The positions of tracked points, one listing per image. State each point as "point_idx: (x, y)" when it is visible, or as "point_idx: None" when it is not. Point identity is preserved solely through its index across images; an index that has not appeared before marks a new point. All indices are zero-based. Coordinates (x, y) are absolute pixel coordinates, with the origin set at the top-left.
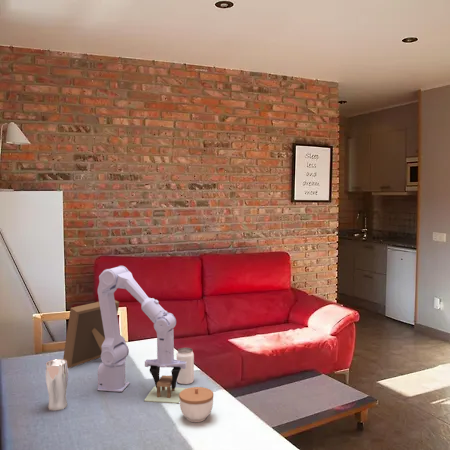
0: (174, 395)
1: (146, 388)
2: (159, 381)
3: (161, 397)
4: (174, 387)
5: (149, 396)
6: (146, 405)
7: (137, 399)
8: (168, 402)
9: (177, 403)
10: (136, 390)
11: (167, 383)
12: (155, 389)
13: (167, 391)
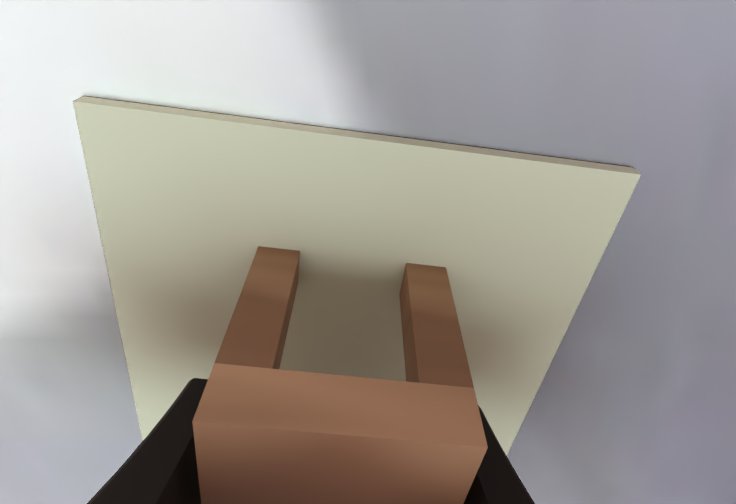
0: (217, 311)
1: (569, 458)
2: (436, 496)
3: (381, 260)
4: (182, 399)
5: (550, 285)
6: (606, 19)
7: (716, 228)
8: (248, 119)
9: (100, 99)
10: (681, 426)
11: (249, 431)
12: None
13: (279, 311)
